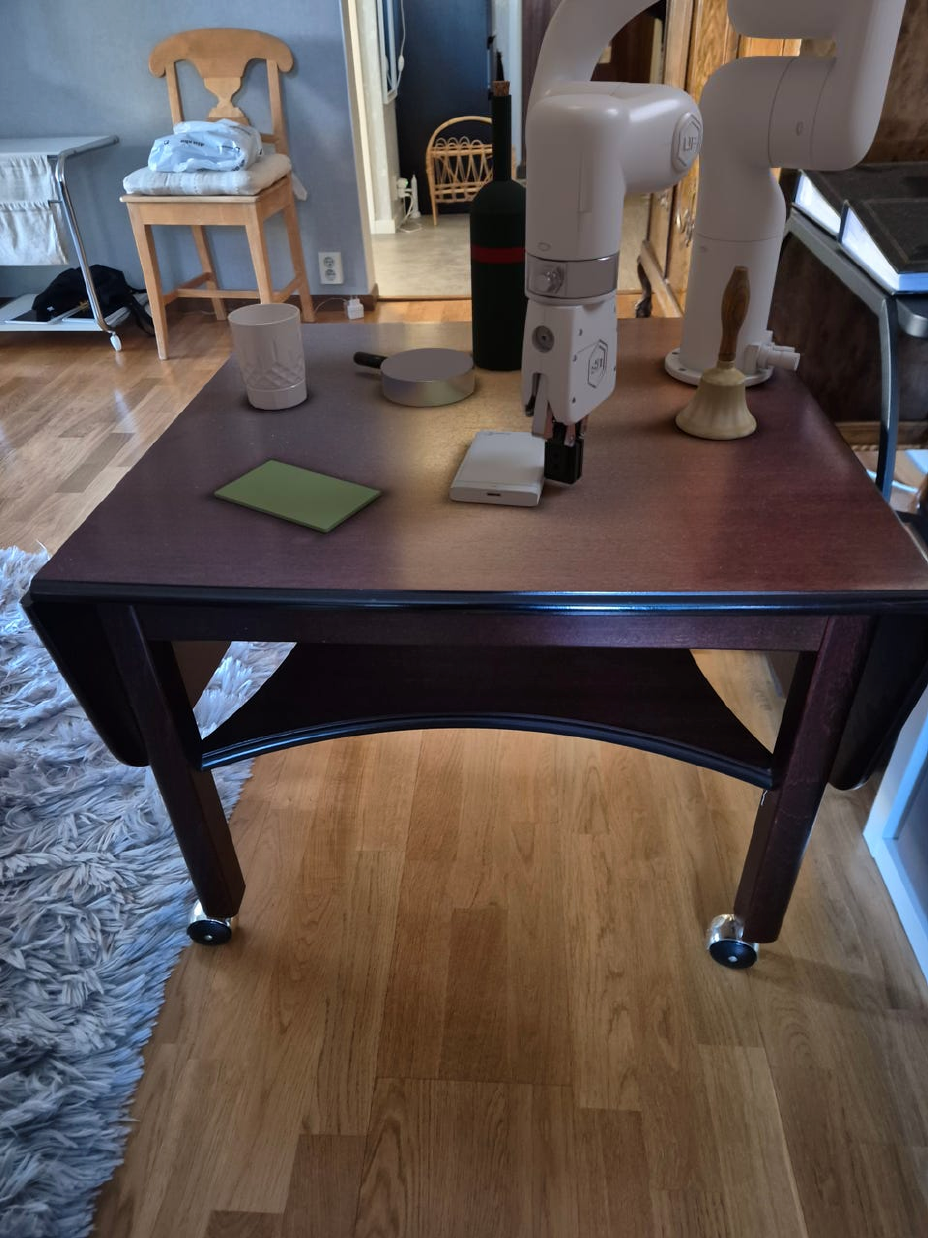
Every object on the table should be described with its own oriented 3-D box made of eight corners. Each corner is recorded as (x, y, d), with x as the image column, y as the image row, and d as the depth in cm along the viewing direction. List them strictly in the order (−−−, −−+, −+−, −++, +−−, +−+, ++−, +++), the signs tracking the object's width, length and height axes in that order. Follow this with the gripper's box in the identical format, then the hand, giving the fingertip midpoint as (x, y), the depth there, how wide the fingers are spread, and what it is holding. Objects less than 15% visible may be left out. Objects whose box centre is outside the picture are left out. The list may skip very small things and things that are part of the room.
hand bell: (770, 421, 90) (800, 263, 80) (731, 447, 85) (758, 283, 76) (701, 402, 95) (722, 251, 85) (660, 426, 90) (678, 269, 80)
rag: (381, 495, 80) (380, 491, 80) (326, 533, 75) (325, 529, 74) (271, 463, 86) (271, 459, 86) (214, 496, 81) (213, 492, 81)
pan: (492, 380, 102) (491, 356, 100) (441, 413, 95) (440, 387, 93) (383, 358, 109) (380, 335, 108) (328, 387, 102) (324, 363, 100)
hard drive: (476, 429, 87) (449, 485, 78) (555, 433, 86) (538, 491, 76) (477, 444, 88) (450, 501, 79) (555, 448, 87) (537, 507, 77)
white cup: (319, 386, 103) (307, 302, 97) (302, 412, 96) (288, 324, 90) (256, 386, 103) (240, 302, 97) (236, 412, 97) (217, 324, 91)
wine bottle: (557, 367, 105) (567, 81, 87) (476, 373, 104) (468, 86, 86) (545, 345, 111) (551, 75, 93) (469, 351, 110) (460, 80, 92)
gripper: (572, 304, 62) (562, 523, 73) (650, 257, 72) (631, 455, 83) (484, 291, 65) (487, 502, 76) (570, 248, 75) (562, 440, 86)
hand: (562, 477), depth 79 cm, fingers closed
